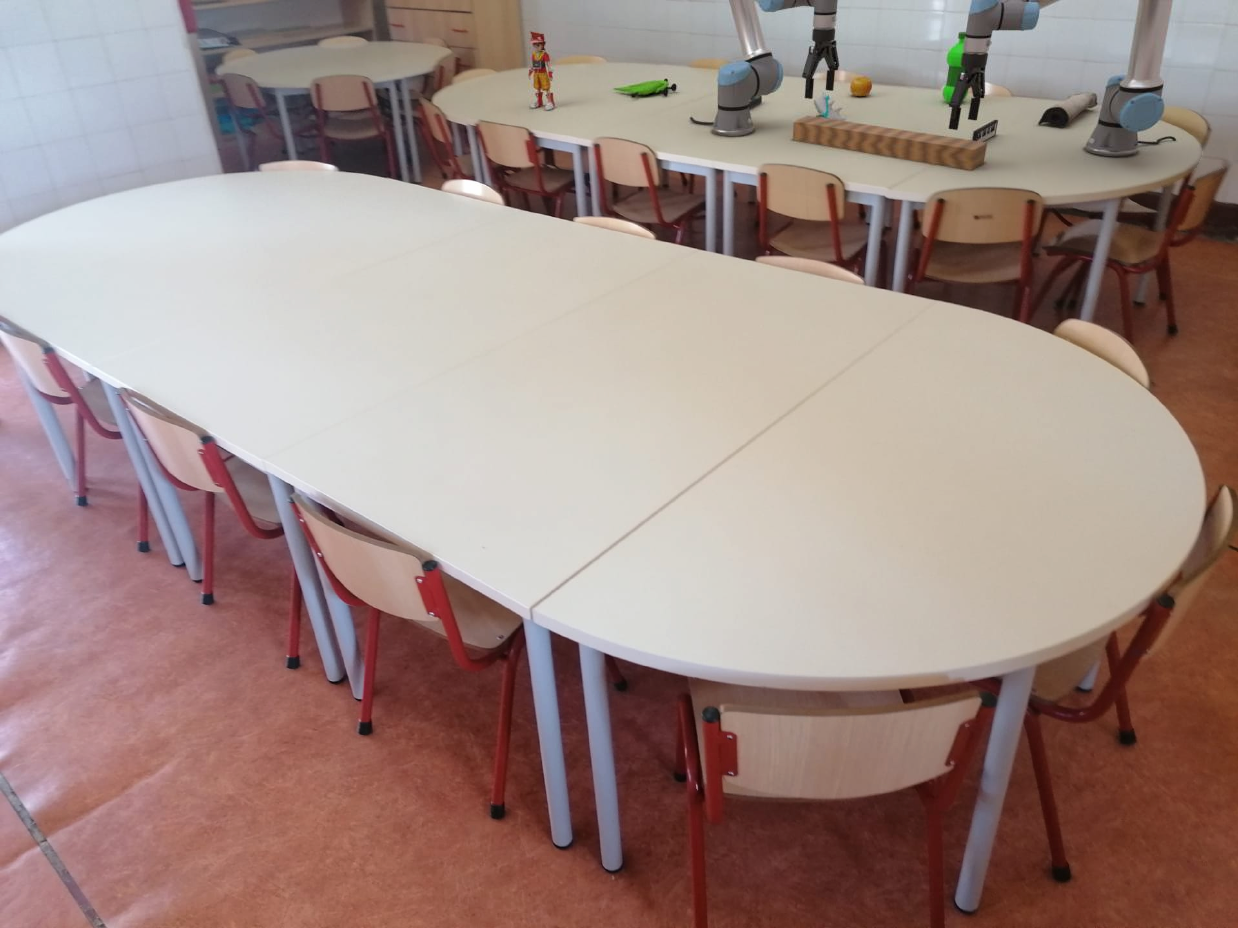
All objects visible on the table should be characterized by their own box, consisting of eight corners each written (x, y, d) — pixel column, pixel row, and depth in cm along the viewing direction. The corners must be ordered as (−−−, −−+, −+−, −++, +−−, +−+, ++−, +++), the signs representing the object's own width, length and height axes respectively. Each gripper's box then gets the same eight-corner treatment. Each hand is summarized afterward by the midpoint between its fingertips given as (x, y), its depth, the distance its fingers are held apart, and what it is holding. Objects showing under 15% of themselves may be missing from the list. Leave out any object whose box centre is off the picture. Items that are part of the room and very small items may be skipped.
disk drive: (746, 111, 360) (762, 102, 370) (746, 104, 358) (762, 95, 368) (723, 109, 364) (739, 100, 374) (723, 102, 363) (739, 93, 373)
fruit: (845, 88, 367) (857, 70, 364) (847, 92, 375) (859, 74, 372) (862, 99, 366) (874, 81, 363) (864, 103, 374) (876, 85, 371)
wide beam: (792, 140, 323) (793, 121, 320) (806, 134, 329) (808, 115, 325) (970, 170, 285) (974, 150, 281) (983, 163, 290) (987, 142, 287)
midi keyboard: (974, 147, 304) (977, 131, 301) (970, 146, 305) (973, 131, 302) (995, 135, 315) (998, 120, 312) (992, 134, 315) (994, 119, 313)
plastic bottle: (973, 101, 354) (984, 32, 339) (955, 106, 349) (966, 36, 335) (952, 97, 361) (962, 29, 346) (934, 102, 356) (944, 33, 342)
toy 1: (525, 109, 381) (517, 32, 364) (534, 104, 388) (527, 28, 371) (550, 110, 377) (543, 32, 360) (559, 105, 384) (553, 28, 367)
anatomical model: (809, 92, 345) (834, 85, 344) (812, 119, 351) (837, 112, 350) (819, 101, 333) (845, 94, 332) (822, 129, 339) (848, 122, 338)
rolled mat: (1065, 97, 339) (1089, 80, 331) (1078, 117, 340) (1103, 101, 331) (1034, 118, 322) (1058, 101, 314) (1048, 140, 322) (1073, 123, 314)
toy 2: (686, 85, 398) (631, 84, 414) (685, 72, 395) (629, 72, 411) (651, 104, 381) (596, 103, 397) (650, 92, 378) (594, 91, 394)
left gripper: (813, 35, 292) (809, 103, 304) (853, 22, 307) (847, 88, 319) (794, 33, 296) (790, 100, 308) (833, 21, 311) (828, 86, 323)
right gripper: (969, 60, 263) (956, 135, 275) (1004, 46, 277) (991, 117, 290) (944, 58, 267) (933, 131, 279) (981, 44, 282) (968, 114, 294)
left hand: (819, 94), depth 314 cm, fingers open, 13 cm apart
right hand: (962, 124), depth 284 cm, fingers open, 13 cm apart
